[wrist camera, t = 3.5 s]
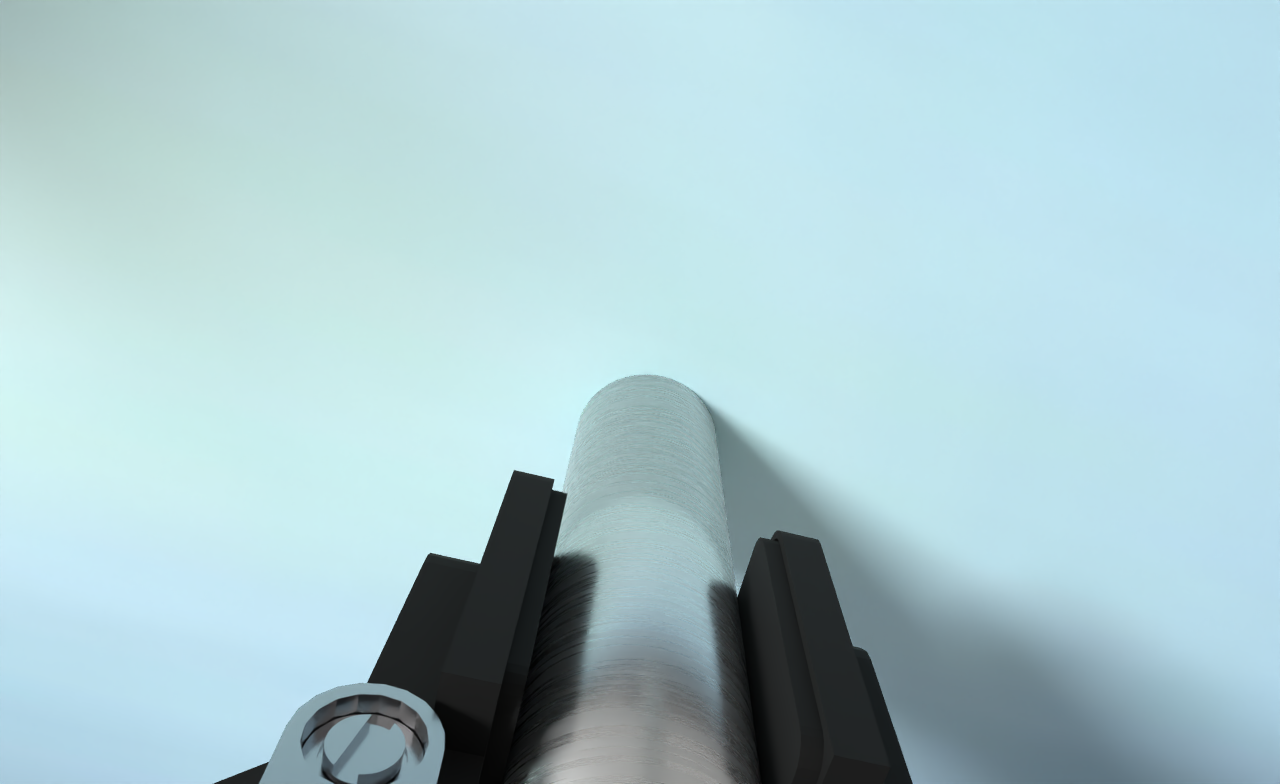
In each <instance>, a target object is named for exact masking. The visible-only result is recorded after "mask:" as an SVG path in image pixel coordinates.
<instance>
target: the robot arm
mask: <svg viewBox="0 0 1280 784" xmlns="http://www.w3.org/2000/svg"><path fill="white" fill-rule="evenodd" d="M553 483H554V479H551V478H546V477H542V476H538V475H533V474H529V473H524V472H520V471H516V470H514V472H513V474H512V477H511V480H510V482H509V485H508V488H507V491H506V494H505V496H504V499H503V502H502V505H501V507H500V510H499V513H498V516H497V519H496V521H495V524H494V527H493V530H492V532H491V535H490V538H489V541H488V544H487V546H486V549H485V552H484V555H483V557H482V560H481V563H480V564H478V563H474V562H469V561H465V560H460V559H456V558H451V557H447V556H442V555H438V554H433V553H430V554H428V556H427V558H426V559H425V561H424V563H423V565H422V567H421V570H420V572H419V574H418V576H417V578H416V580H415V582H414V584H413V587H412V589H411V591H410V593H409V595H408V597H407V599H406V601H405V604H404V606H403V608H402V610H401V612H400V614H399V616H398V618H397V621H396V623H395V625H394V627H393V629H392V631H391V633H390V635H389V638H388V640H387V642H386V644H385V646H384V648H383V650H382V652H381V654H380V657H379V659H378V661H377V663H376V665H375V667H374V669H373V671H372V674H371V676H370V678H369V680H368V682H367V683H358V684H352V685H345V686H339V687H336V688H333V689H331V690H328V691H326V692H323V693H321V694H318V695H316V696H315V697H313V698H312V699H311V700H309V701H308V702H307V703H305V704H304V705H303V706H301V707H300V708H299V709H298V710H297V711H296V713H295V714H294V715H293V717H292V718H291V720H290V721H289V722H288V724H287V725H286V727H285V729H284V731H283V733H282V736H281V738H280V740H279V742H278V744H277V746H276V748H275V751H274V753H273V755H272V757H271V759H270V761H269V762H267V763H265V764H262V765H260V766H257V767H255V768H252V769H249V770H247V771H244V772H242V773H239V774H237V775H234V776H232V777H229V778H226V779H224V780H221V781H219V782H216V783H214V784H502V780H503V776H504V772H505V768H506V764H507V760H508V756H509V752H510V747H511V743H512V739H513V735H514V731H515V727H516V723H517V718H518V714H519V710H520V706H521V702H522V697H523V693H524V689H525V684H526V680H527V676H528V671H529V667H530V662H531V658H532V653H533V649H534V644H535V640H536V635H537V630H538V626H539V621H540V617H541V612H542V608H543V603H544V599H545V594H546V590H547V585H548V580H549V576H550V571H551V567H552V562H553V558H554V553H555V549H556V544H557V540H558V535H559V530H560V526H561V521H562V517H563V512H564V508H565V503H566V499H567V494H568V493H563V492H559V491H554V490H552V488H553ZM737 600H738V607H739V615H740V623H741V630H742V638H743V646H744V653H745V661H746V668H747V676H748V684H749V691H750V699H751V706H752V714H753V722H754V729H755V737H756V745H757V752H758V760H759V767H760V775H761V783H762V784H913V783H912V780H911V778H910V775H909V772H908V769H907V766H906V763H905V760H904V757H903V754H902V751H901V748H900V745H899V742H898V739H897V736H896V733H895V730H894V727H893V724H892V721H891V718H890V715H889V712H888V709H887V706H886V703H885V700H884V697H883V694H882V691H881V688H880V685H879V682H878V679H877V676H876V673H875V671H874V668H873V665H872V662H871V659H870V657H869V655H868V653H867V652H866V651H865V650H863V649H862V648H858V647H853V646H852V643H851V639H850V636H849V633H848V630H847V627H846V623H845V620H844V617H843V614H842V611H841V608H840V604H839V601H838V598H837V595H836V592H835V588H834V585H833V582H832V579H831V576H830V572H829V569H828V566H827V563H826V560H825V556H824V553H823V550H822V547H821V544H820V542H819V540H817V539H813V538H809V537H804V536H800V535H795V534H791V533H787V532H782V531H778V530H777V531H776V532H775V533H774V535H773V536H772V538H771V540H770V539H765V538H761V537H760V538H759V539H758V541H757V542H756V545H755V547H754V550H753V553H752V556H751V559H750V562H749V565H748V568H747V571H746V574H745V577H744V580H743V582H742V585H741V588H740V591H739V594H738V597H737Z"/></svg>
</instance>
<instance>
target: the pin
mask: <svg viewBox="0 0 1280 784" xmlns="http://www.w3.org/2000/svg"><path fill="white" fill-rule="evenodd" d="M562 492H563V493H568V494H567V499H566V503H565V508H564V512H563V517H562V521H561V526H560V530H559V535H558V540H557V544H556V549H555V553H554V558H553V562H552V567H551V571H550V576H549V580H548V585H547V590H546V594H545V599H544V603H543V608H542V612H541V617H540V621H539V626H538V630H537V635H536V640H535V644H534V649H533V653H532V658H531V662H530V667H529V671H528V676H527V680H526V684H525V689H524V693H523V697H522V702H521V706H520V710H519V714H518V718H517V723H516V727H515V731H514V735H513V739H512V743H511V747H510V752H509V756H508V760H507V764H506V768H505V772H504V776H503V780H502V784H762V783H761V775H760V767H759V760H758V752H757V745H756V737H755V729H754V722H753V714H752V706H751V699H750V691H749V684H748V676H747V668H746V661H745V653H744V646H743V638H742V630H741V623H740V615H739V607H738V600H737V592H736V585H735V577H734V569H733V562H732V554H731V547H730V539H729V531H728V524H727V516H726V508H725V501H724V493H723V486H722V478H721V470H720V463H719V455H718V448H717V440H716V432H715V427H714V422H713V420H712V417H711V414H710V413H709V411H708V409H707V407H706V406H705V404H704V403H703V401H702V400H701V399H700V398H699V397H698V396H697V395H696V394H695V393H694V392H693V391H691V390H690V389H689V388H688V387H686V386H684V385H683V384H681V383H679V382H677V381H674V380H672V379H669V378H666V377H662V376H656V375H634V376H629V377H625V378H622V379H619V380H616V381H614V382H612V383H610V384H608V385H607V386H605V387H604V388H602V389H601V390H600V391H599V392H597V393H596V394H595V395H594V396H593V397H592V399H591V400H590V401H589V402H588V404H587V405H586V407H585V408H584V410H583V412H582V414H581V416H580V420H579V423H578V426H577V431H576V435H575V439H574V444H573V448H572V452H571V456H570V461H569V465H568V469H567V474H566V478H565V482H564V486H563V491H562Z"/></svg>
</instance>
